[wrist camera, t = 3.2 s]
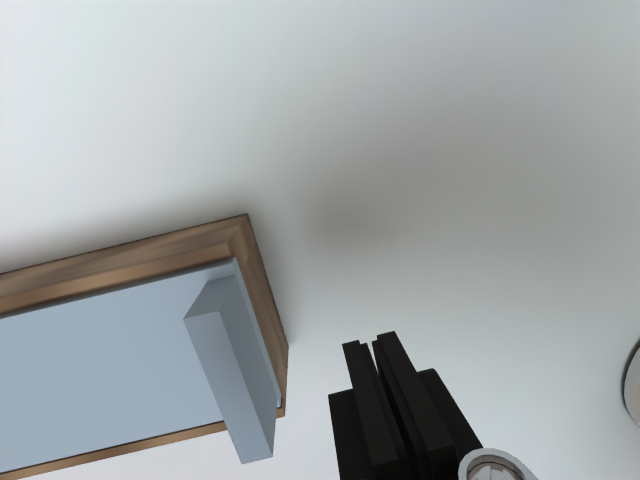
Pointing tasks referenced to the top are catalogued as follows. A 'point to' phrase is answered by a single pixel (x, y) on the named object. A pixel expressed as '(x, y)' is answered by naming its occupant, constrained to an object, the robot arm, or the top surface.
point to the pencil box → (139, 264)
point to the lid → (136, 367)
